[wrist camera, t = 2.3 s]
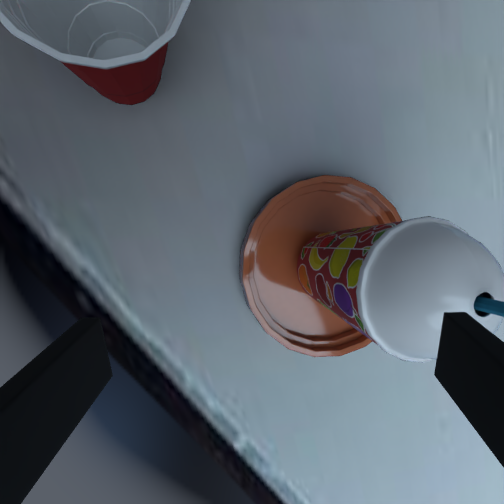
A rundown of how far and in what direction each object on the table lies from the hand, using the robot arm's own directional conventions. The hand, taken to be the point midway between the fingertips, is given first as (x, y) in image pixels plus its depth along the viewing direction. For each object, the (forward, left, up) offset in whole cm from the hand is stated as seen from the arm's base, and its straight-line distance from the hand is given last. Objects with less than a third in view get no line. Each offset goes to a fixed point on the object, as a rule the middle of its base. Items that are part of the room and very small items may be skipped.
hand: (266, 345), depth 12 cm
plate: (-7, +7, -18) cm, 21 cm away
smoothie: (-7, +7, -18) cm, 20 cm away
